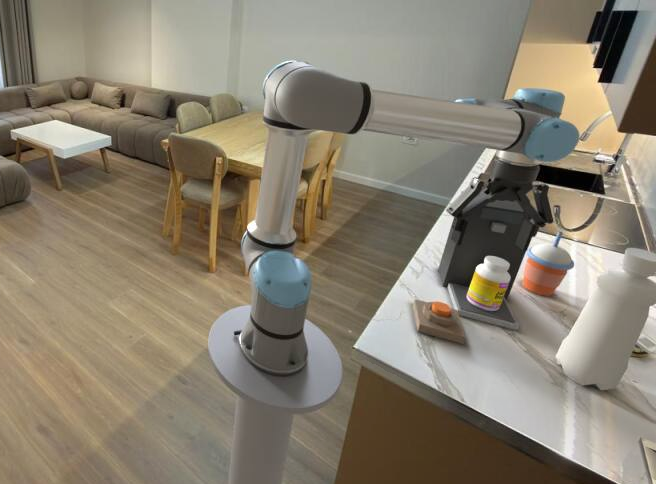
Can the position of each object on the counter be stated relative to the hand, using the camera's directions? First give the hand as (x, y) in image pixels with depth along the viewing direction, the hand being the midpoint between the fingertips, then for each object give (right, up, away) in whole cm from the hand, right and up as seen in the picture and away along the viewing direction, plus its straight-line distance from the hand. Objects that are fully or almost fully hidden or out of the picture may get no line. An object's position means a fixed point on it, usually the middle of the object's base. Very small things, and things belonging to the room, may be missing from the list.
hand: (487, 244), depth 93 cm
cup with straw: (+28, -16, +16) cm, 36 cm away
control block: (-9, -21, +4) cm, 23 cm away
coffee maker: (+8, -17, +13) cm, 23 cm away
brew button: (-9, -17, +3) cm, 20 cm away
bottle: (+11, -26, -10) cm, 30 cm away
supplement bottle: (+6, -17, +8) cm, 20 cm away
